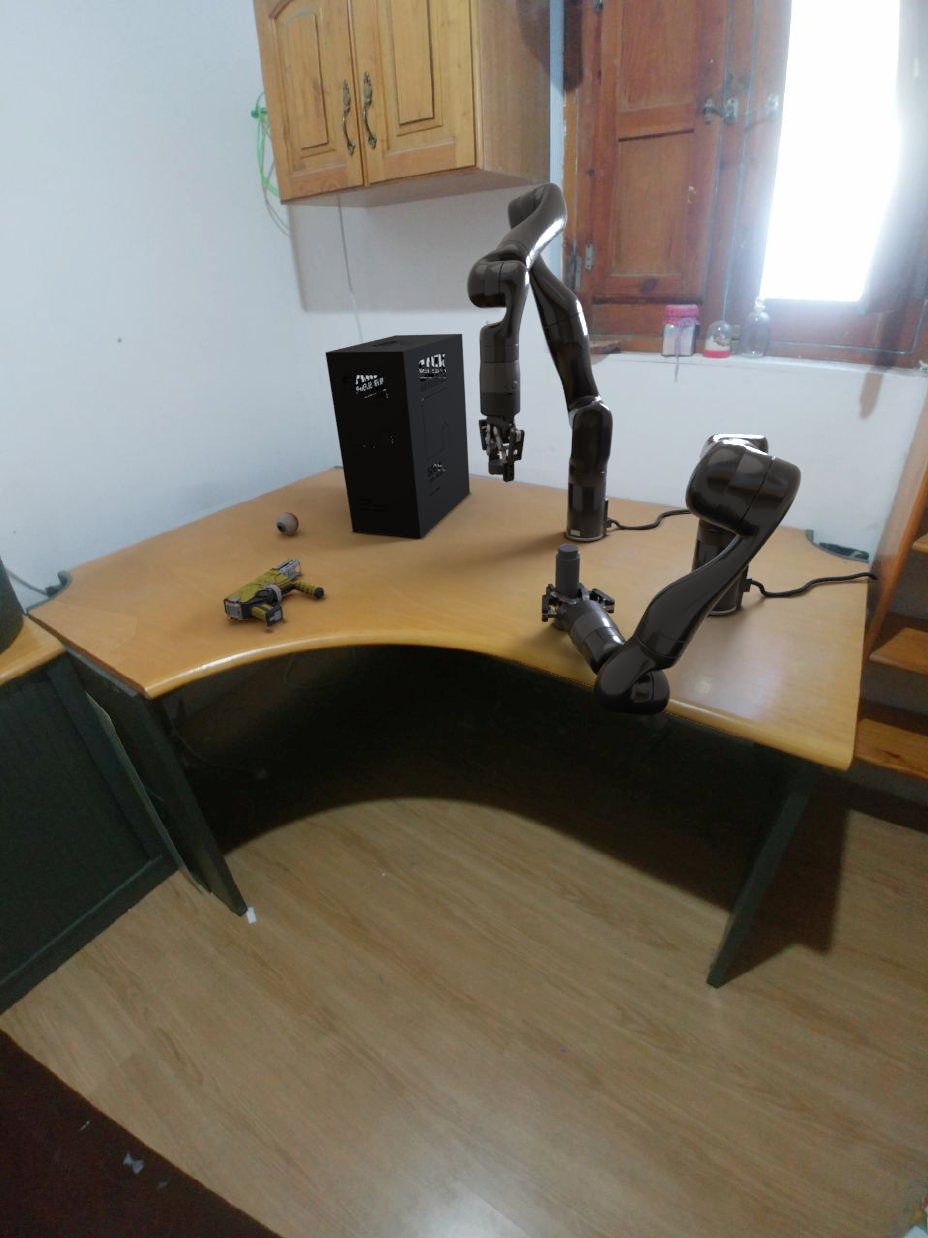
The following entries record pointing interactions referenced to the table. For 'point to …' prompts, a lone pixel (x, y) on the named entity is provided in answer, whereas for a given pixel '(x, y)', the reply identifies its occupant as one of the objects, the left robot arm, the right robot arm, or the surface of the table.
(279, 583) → the toy gun
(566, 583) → the grey cylindrical tube
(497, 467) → the lid
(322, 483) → the table surface
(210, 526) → the table surface
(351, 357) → the cardboard box
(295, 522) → the eyeball
